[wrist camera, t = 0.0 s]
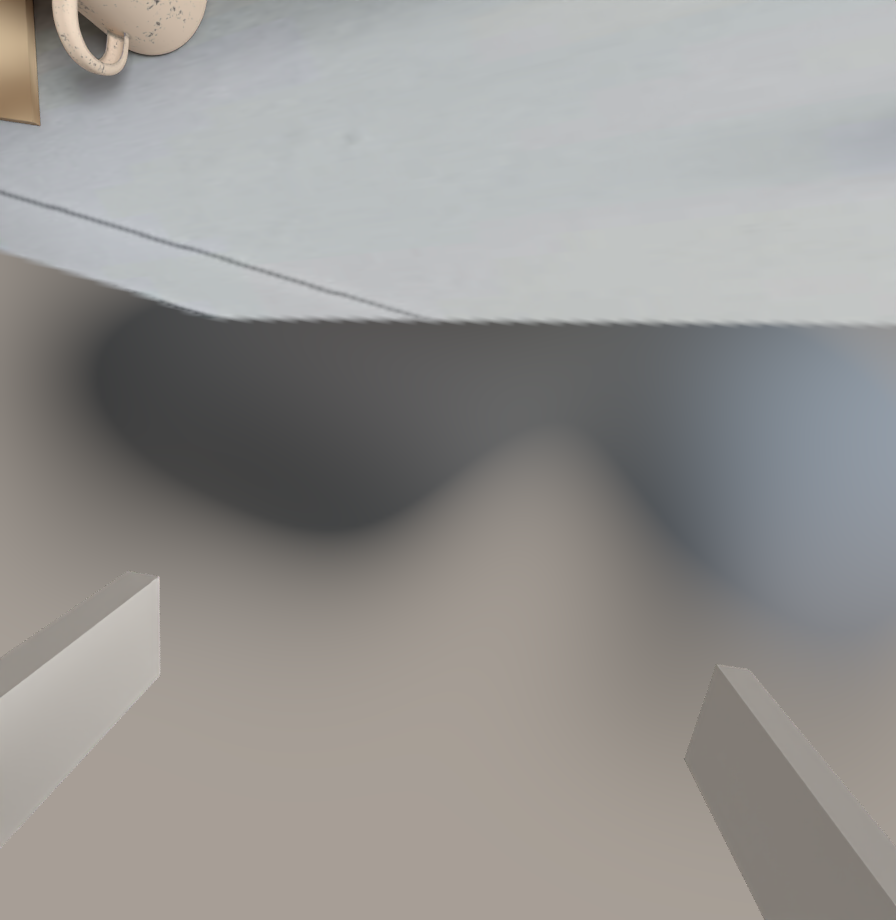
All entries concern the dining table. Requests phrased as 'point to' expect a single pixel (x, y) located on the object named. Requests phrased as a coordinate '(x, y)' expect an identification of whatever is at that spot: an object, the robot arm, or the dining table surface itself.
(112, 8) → the teacup with lid
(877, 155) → the dining table surface
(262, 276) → the dining table surface
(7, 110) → the cork mat
